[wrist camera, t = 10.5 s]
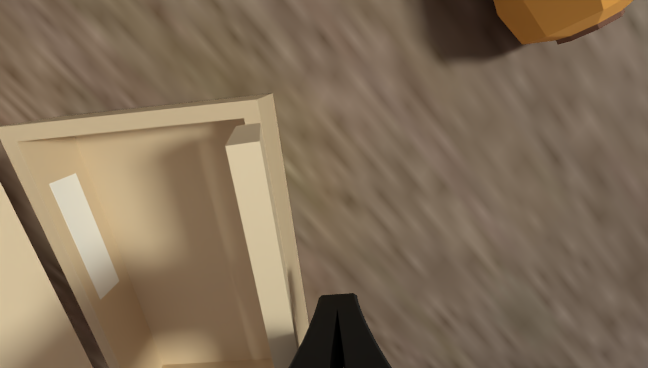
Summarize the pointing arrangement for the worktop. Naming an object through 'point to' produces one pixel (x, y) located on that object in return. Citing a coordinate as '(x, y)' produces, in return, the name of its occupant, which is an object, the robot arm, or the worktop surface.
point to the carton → (158, 228)
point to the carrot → (557, 18)
